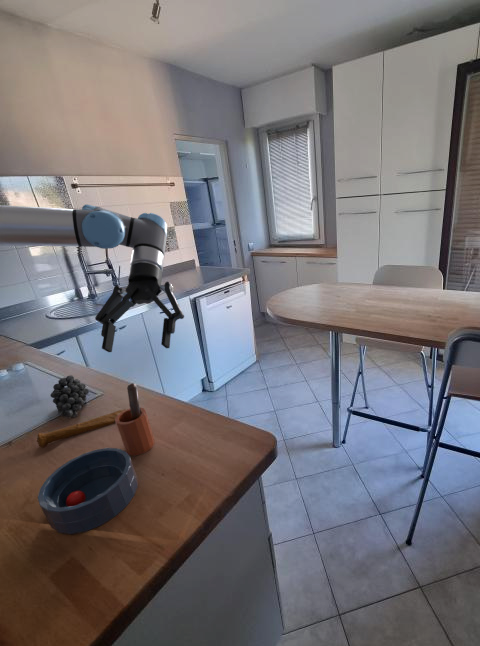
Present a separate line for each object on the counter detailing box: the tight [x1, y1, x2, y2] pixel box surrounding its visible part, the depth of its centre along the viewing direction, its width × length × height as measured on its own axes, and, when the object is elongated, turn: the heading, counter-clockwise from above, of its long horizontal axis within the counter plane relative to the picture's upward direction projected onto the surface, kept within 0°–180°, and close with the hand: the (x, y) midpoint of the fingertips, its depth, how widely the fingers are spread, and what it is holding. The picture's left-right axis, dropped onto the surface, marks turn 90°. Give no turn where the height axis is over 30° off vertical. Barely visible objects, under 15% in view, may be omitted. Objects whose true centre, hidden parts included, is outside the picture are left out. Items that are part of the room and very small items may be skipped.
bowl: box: [37, 447, 139, 535], centre depth 62 cm, size 15×15×6 cm
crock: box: [114, 407, 155, 456], centre depth 74 cm, size 6×6×9 cm
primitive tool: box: [36, 409, 126, 449], centre depth 82 cm, size 19×6×4 cm, turn 127°
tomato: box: [66, 491, 86, 507], centre depth 61 cm, size 3×3×3 cm
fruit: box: [50, 374, 90, 419], centre depth 90 cm, size 9×8×15 cm
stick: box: [126, 382, 141, 421], centre depth 72 cm, size 2×2×17 cm
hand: (136, 348), depth 76 cm, fingers open, 13 cm apart
